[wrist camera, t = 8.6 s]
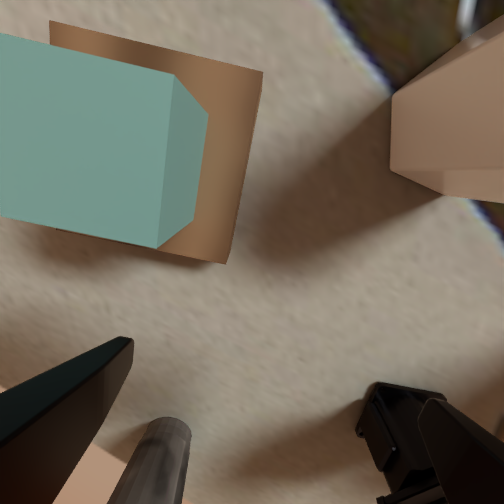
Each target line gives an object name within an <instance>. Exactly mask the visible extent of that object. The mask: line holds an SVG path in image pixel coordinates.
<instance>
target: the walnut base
mask: <svg viewBox="0 0 504 504" xmlns="http://www.w3.org/2000/svg"><path fill="white" fill-rule="evenodd" d="M49 28H50V45H53V46H57V47H61V48H65V49H70V50H74V51H78V52H82V53H86V54H90V55H95V56H99V57H103V58H107V59H111V60H115V61H120V62H124V63H128V64H132V65H136V66H140V67H144V68H149V69H153V70H157V71H161V72H165V73H169V74H174V75H175V76H176V77H177V79H178V80H179V81H180V82H181V83H182V84H183V86H184V87H185V88H186V89H187V90H188V91H189V92H190V94H191V95H192V96H193V97H194V98H195V99H196V101H197V102H198V103H199V104H200V105H201V106H202V107H203V109H204V110H205V111H206V112H207V113H208V114H209V115H208V122H207V129H206V136H205V143H204V150H203V157H202V164H201V170H200V177H199V184H198V191H197V198H196V205H195V212H194V219H193V221H192V222H190V223H189V224H188V225H187V226H185V227H184V228H183V229H181V230H180V231H179V232H177V233H176V234H175V235H174V236H172V237H171V238H170V239H168V240H167V241H166V242H165V243H163V244H162V245H161V246H159V247H158V248H157V249H155V248H150V247H146V246H141V245H136V244H131V243H126V242H122V241H117V240H112V239H107V238H102V237H98V236H93V235H88V234H83V233H78V232H73V231H69V230H64V229H59V228H56V230H60V231H65V232H70V233H75V234H80V235H85V236H89V237H94V238H99V239H104V240H109V241H114V242H119V243H123V244H128V245H133V246H138V247H143V248H148V249H153V250H158V251H162V252H167V253H172V254H177V255H182V256H187V257H192V258H196V259H201V260H206V261H211V262H216V263H221V264H226V262H227V259H228V256H229V254H230V250H231V245H232V240H233V235H234V230H235V225H236V220H237V215H238V209H239V204H240V199H241V194H242V189H243V184H244V179H245V174H246V169H247V163H248V158H249V153H250V148H251V143H252V138H253V133H254V128H255V122H256V117H257V112H258V107H259V102H260V97H261V92H262V79H263V72H261V71H257V70H253V69H249V68H245V67H240V66H236V65H232V64H228V63H224V62H220V61H216V60H211V59H207V58H203V57H199V56H195V55H191V54H187V53H183V52H178V51H174V50H170V49H166V48H162V47H158V46H154V45H150V44H145V43H141V42H137V41H133V40H129V39H125V38H121V37H116V36H112V35H108V34H104V33H100V32H96V31H92V30H88V29H83V28H79V27H75V26H71V25H67V24H63V23H59V22H55V21H50V20H49Z"/></svg>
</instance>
